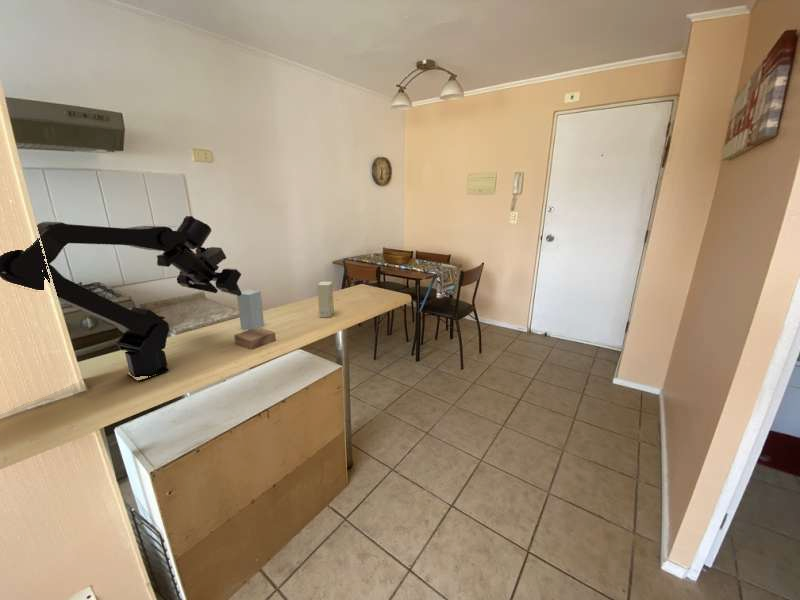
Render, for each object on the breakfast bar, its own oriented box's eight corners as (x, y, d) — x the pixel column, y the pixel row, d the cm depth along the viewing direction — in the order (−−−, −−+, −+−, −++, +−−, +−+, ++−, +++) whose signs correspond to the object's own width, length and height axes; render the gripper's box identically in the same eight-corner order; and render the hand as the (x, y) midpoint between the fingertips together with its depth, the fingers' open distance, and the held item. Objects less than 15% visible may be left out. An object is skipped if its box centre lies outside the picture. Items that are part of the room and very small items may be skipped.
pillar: (253, 330, 108) (249, 294, 104) (241, 328, 109) (236, 293, 106) (264, 325, 112) (260, 291, 109) (252, 323, 114) (248, 289, 111)
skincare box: (331, 317, 120) (329, 285, 117) (318, 317, 120) (316, 285, 117) (334, 312, 126) (332, 281, 123) (322, 312, 126) (320, 281, 123)
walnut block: (251, 350, 94) (250, 340, 93) (235, 344, 98) (234, 335, 97) (275, 341, 100) (275, 332, 99) (259, 336, 104) (258, 327, 103)
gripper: (230, 239, 87) (264, 273, 100) (179, 237, 93) (217, 269, 106) (209, 274, 82) (248, 305, 95) (156, 269, 88) (200, 299, 101)
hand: (228, 293), depth 100 cm, fingers open, 9 cm apart
